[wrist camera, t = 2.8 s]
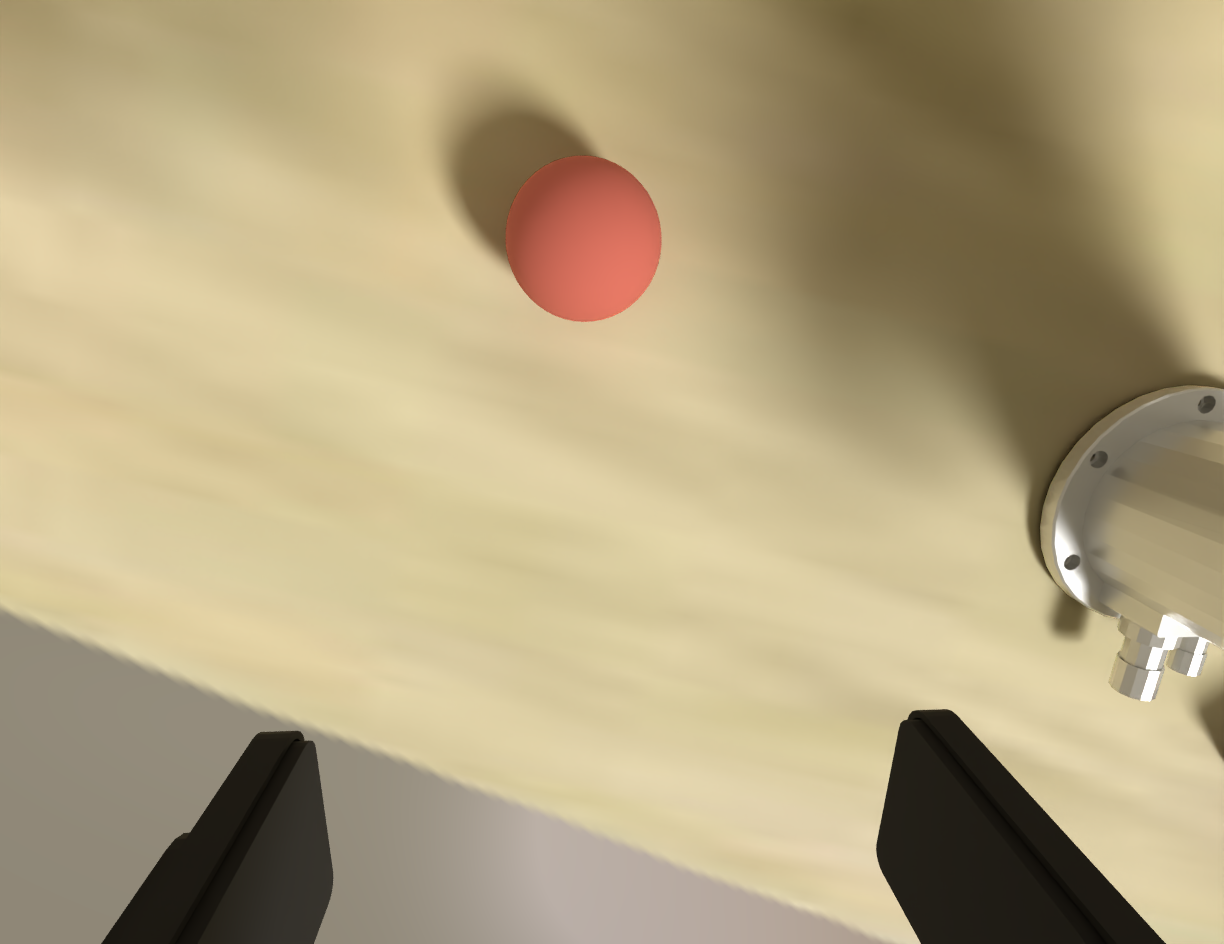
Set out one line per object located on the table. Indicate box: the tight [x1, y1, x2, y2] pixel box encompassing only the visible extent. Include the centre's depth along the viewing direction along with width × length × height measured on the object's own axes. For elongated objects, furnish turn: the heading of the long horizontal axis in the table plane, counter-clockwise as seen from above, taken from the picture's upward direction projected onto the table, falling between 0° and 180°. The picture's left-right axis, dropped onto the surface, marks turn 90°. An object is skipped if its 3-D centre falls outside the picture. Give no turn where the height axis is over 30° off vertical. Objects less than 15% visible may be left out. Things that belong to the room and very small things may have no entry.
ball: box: [506, 156, 661, 322], centre depth 24 cm, size 6×6×6 cm
